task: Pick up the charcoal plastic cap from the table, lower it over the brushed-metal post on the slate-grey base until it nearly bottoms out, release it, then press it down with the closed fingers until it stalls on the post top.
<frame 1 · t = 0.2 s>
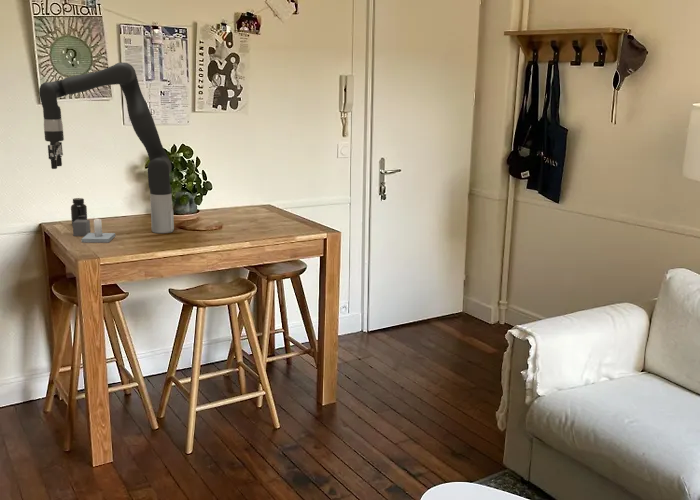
hand: (56, 167, 307), 28 cm above the table, fingers open, 8 cm apart
post base: (98, 239, 300), on the table
supplement bottle: (79, 224, 326), on the table
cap: (82, 234, 307), on the table
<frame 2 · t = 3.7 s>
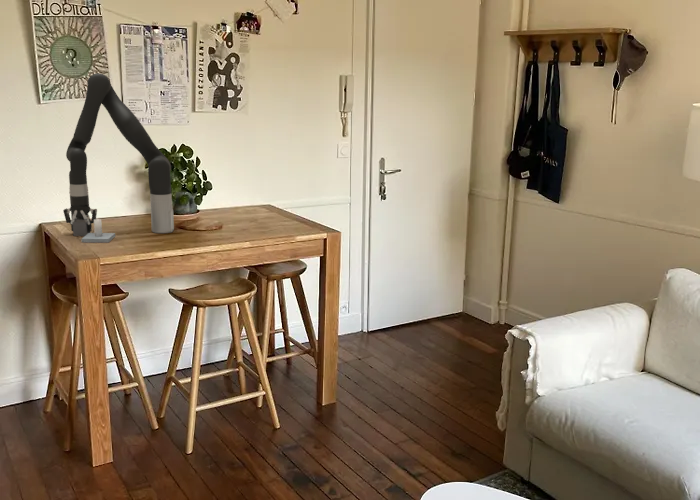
hand: (81, 232, 307), 1 cm above the table, fingers closed on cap, 5 cm apart
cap: (82, 234, 307), on the table, touching gripper
everything else where it was.
when the fingers open (4 cm above the table, at t = 9.2 s): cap stays where it is, resting on post base.
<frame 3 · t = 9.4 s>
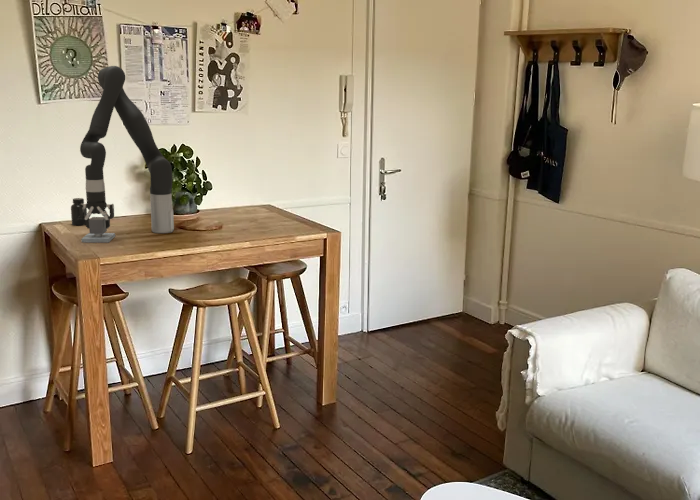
hand: (98, 228, 299), 5 cm above the table, fingers open, 7 cm apart
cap: (98, 232, 299), point 3 cm above the table, touching post base
everything else where it was.
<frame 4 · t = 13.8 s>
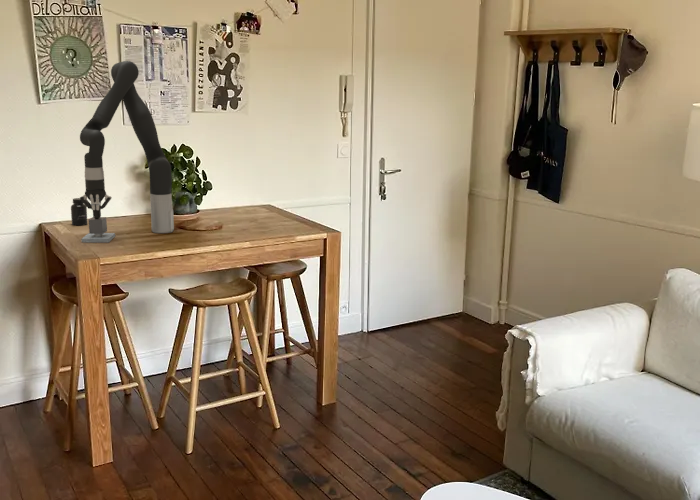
hand: (97, 218, 298), 9 cm above the table, fingers closed
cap: (98, 232, 299), point 3 cm above the table, touching gripper, post base
everything else where it was.
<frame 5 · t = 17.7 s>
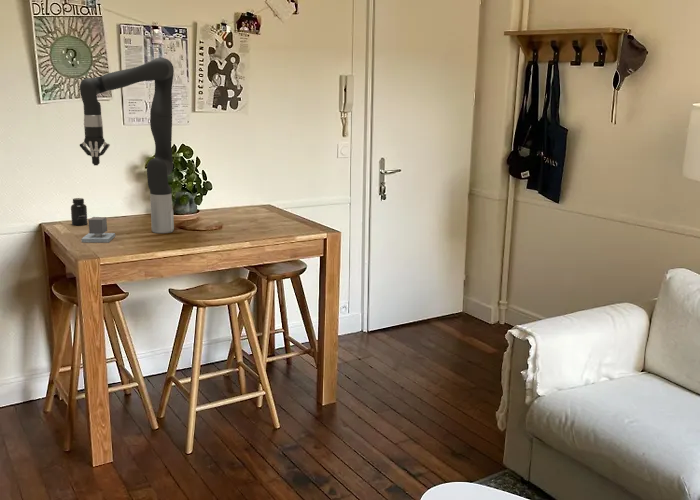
hand: (96, 165, 310), 29 cm above the table, fingers closed
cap: (98, 232, 299), point 3 cm above the table, touching post base
everything else where it was.
at the end: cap 0.1 cm off-centre on the post base, point 3.1 cm above the post base's base; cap tilted 1°; the gripper is holding nothing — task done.
